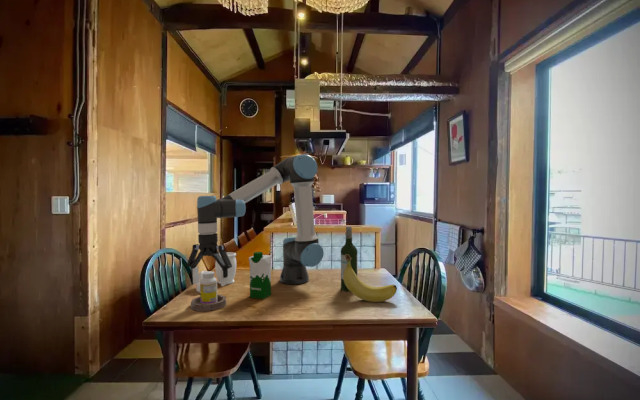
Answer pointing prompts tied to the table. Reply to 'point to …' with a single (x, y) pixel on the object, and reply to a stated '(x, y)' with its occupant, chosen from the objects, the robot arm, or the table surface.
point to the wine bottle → (352, 252)
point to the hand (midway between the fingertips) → (209, 284)
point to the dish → (200, 307)
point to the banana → (366, 286)
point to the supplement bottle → (208, 288)
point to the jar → (230, 270)
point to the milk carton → (260, 275)
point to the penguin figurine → (199, 280)
